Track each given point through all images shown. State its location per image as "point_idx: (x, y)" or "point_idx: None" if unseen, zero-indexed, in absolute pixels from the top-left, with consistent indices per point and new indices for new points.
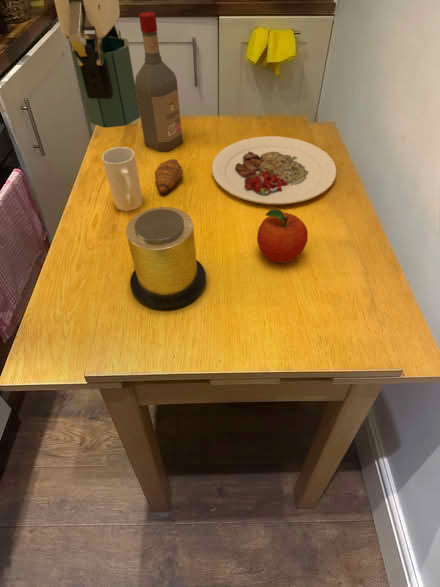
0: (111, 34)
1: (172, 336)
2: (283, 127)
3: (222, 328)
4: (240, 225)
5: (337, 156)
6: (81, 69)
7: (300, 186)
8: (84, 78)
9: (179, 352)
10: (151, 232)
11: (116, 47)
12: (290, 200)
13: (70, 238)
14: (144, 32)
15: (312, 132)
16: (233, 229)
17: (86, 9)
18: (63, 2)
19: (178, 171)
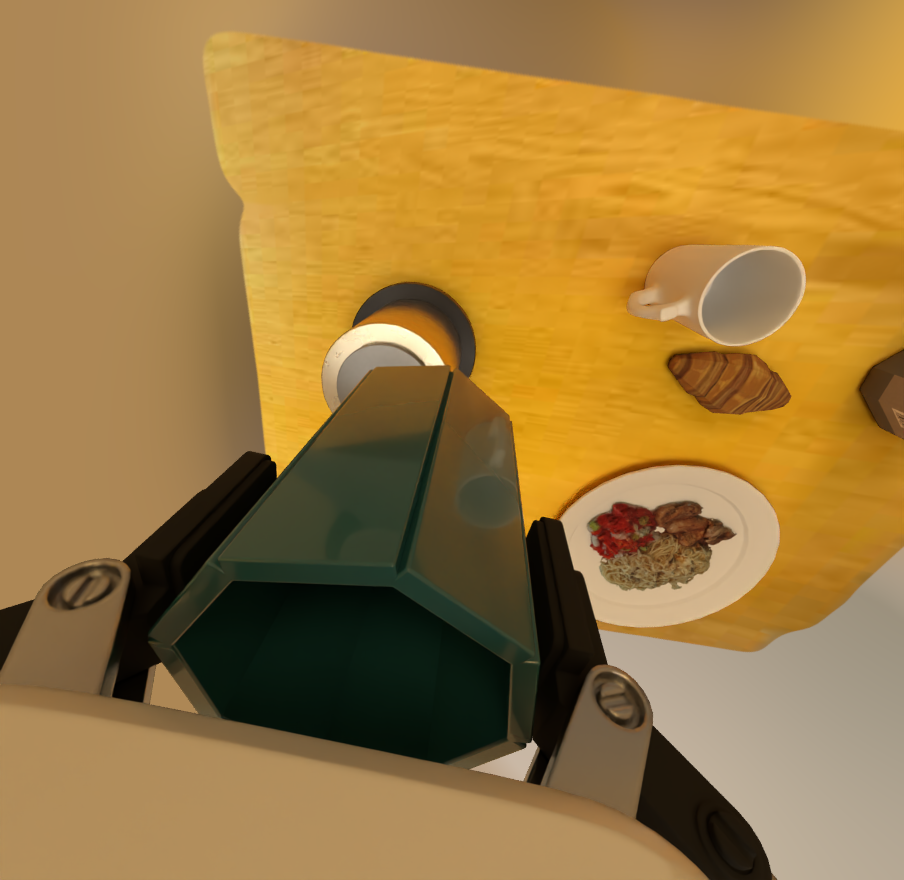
0: (552, 749)
1: (306, 343)
2: (794, 600)
3: (321, 410)
4: (527, 473)
5: (652, 630)
6: (156, 536)
7: (592, 570)
8: (195, 506)
9: (280, 350)
10: (358, 377)
11: (478, 693)
12: None
13: (592, 123)
14: None
15: (744, 628)
16: (520, 462)
17: None
18: None
19: (715, 408)
